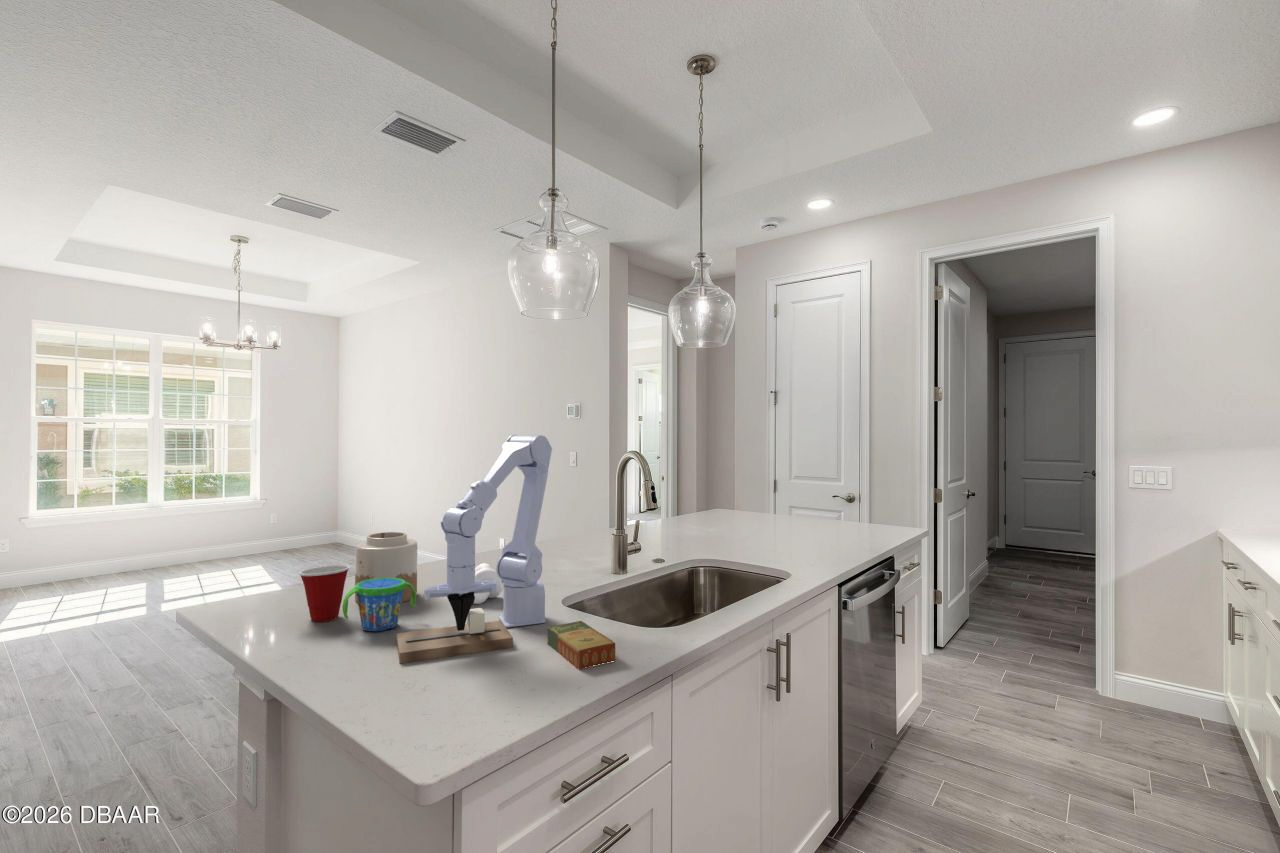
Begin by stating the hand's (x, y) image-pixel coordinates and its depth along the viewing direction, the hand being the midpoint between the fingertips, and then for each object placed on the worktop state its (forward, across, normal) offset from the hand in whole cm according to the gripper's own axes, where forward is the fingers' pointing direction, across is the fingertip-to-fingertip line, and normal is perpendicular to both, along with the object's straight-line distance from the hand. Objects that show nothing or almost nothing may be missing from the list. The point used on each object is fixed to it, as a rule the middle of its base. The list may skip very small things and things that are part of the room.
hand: (460, 629), depth 127 cm
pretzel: (+3, +10, +31) cm, 33 cm away
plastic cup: (+3, -27, +30) cm, 41 cm away
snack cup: (+3, -15, +18) cm, 24 cm away
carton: (+4, +22, -14) cm, 26 cm away
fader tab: (+1, +3, 0) cm, 3 cm away
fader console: (+3, -1, 0) cm, 3 cm away
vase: (+3, -13, +43) cm, 45 cm away
